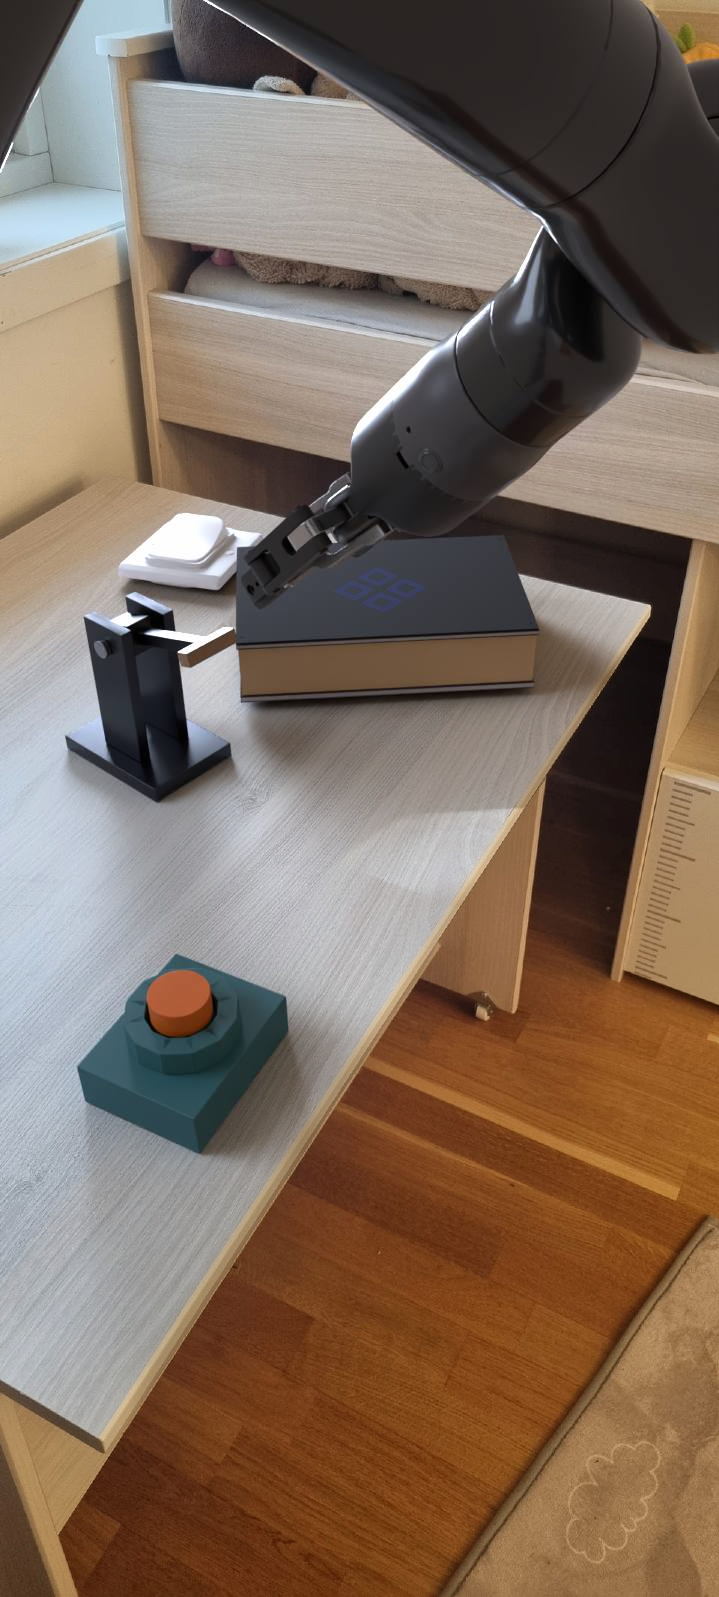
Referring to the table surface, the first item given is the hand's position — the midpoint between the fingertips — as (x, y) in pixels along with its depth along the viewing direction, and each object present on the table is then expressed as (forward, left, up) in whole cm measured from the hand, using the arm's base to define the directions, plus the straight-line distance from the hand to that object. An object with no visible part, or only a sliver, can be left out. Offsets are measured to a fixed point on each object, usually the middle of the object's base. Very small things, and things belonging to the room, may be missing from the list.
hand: (301, 567), depth 73 cm
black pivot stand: (0, +18, -23) cm, 29 cm away
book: (+24, +14, -23) cm, 36 cm away
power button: (-19, -8, -18) cm, 28 cm away
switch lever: (0, +14, -12) cm, 18 cm away
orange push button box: (-19, -8, -23) cm, 31 cm away
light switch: (+25, +40, -23) cm, 53 cm away
